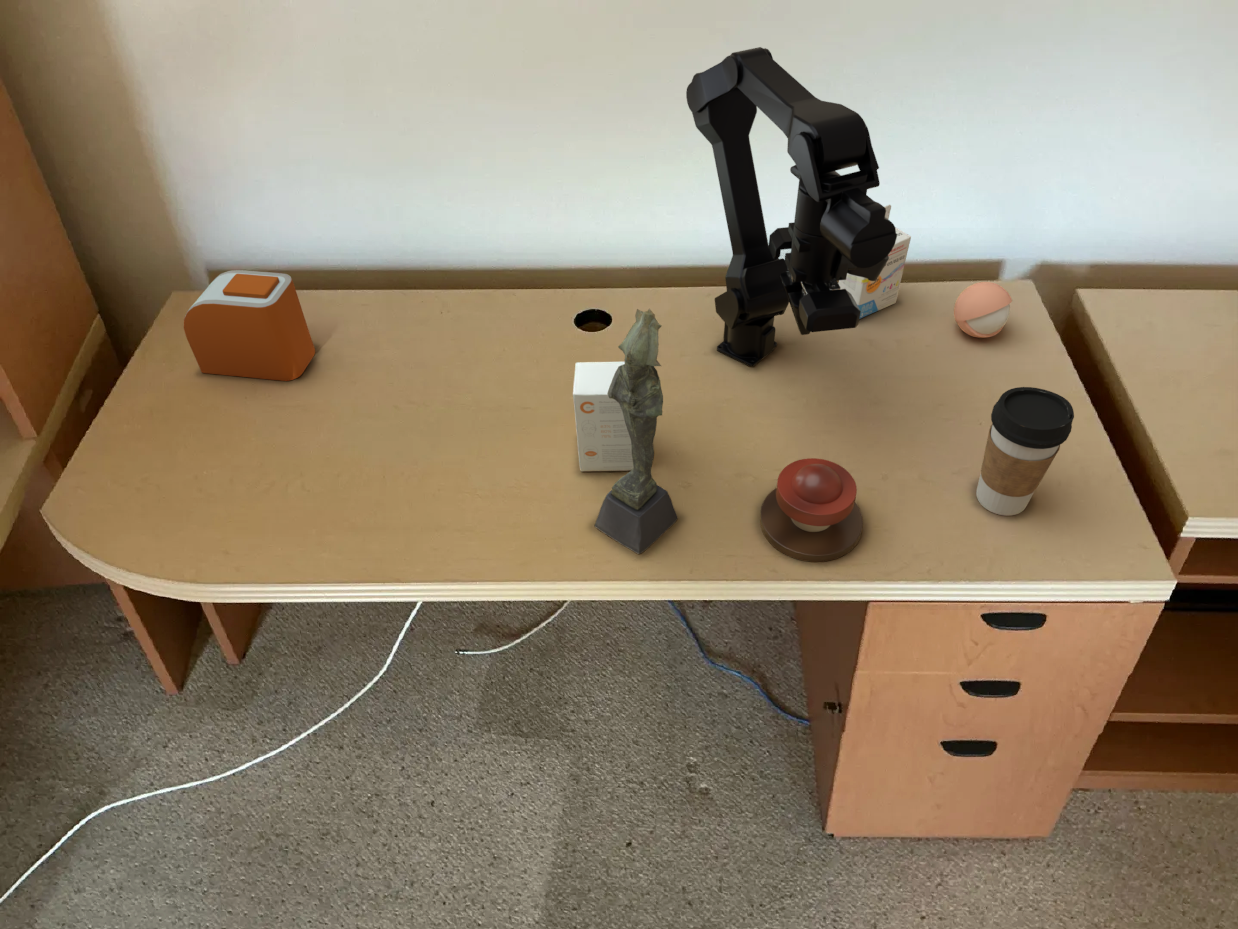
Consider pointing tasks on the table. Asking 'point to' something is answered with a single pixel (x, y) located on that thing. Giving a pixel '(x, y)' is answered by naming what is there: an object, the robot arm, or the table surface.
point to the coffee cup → (1021, 447)
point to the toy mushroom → (812, 511)
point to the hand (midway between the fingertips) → (804, 332)
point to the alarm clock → (250, 327)
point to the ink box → (880, 279)
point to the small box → (600, 420)
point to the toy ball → (982, 309)
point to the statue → (638, 444)
